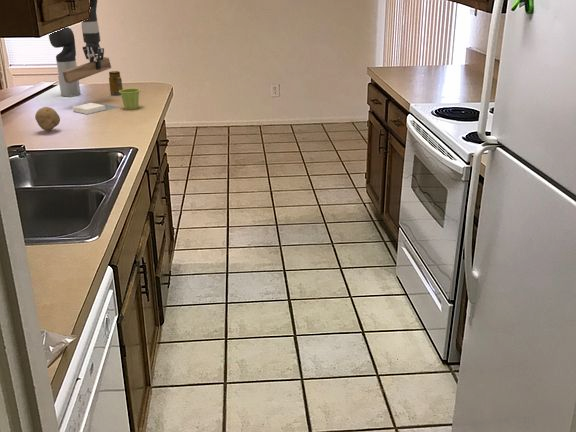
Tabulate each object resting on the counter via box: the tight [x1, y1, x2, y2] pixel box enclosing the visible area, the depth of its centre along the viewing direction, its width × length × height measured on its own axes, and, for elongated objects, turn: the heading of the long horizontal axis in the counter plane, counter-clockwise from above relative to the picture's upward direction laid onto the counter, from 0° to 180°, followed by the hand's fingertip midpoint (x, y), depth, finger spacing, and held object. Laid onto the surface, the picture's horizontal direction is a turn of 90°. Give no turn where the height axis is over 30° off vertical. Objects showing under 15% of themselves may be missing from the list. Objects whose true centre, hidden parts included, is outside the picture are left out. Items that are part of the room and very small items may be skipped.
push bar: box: [62, 56, 112, 83], centre depth 288 cm, size 4×24×5 cm, turn 143°
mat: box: [91, 102, 120, 114], centre depth 284 cm, size 14×15×1 cm
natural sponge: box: [35, 106, 61, 133], centre depth 248 cm, size 9×9×10 cm
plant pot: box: [119, 87, 141, 110], centre depth 283 cm, size 9×9×9 cm
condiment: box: [107, 70, 124, 97], centre depth 310 cm, size 7×8×12 cm
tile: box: [72, 102, 105, 115], centre depth 279 cm, size 10×2×10 cm
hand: (96, 69), depth 291 cm, fingers closed on push bar, 3 cm apart
